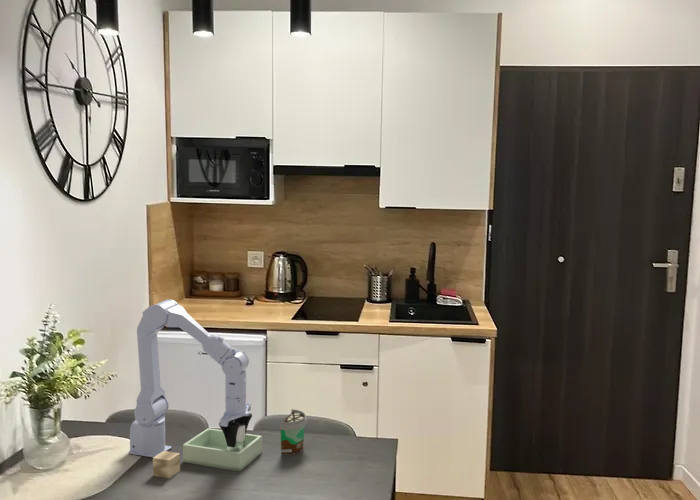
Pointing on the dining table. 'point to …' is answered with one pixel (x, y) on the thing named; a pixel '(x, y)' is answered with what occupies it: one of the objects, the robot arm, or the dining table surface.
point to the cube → (166, 464)
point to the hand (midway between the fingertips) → (235, 442)
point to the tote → (220, 450)
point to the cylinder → (239, 439)
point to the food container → (293, 432)
